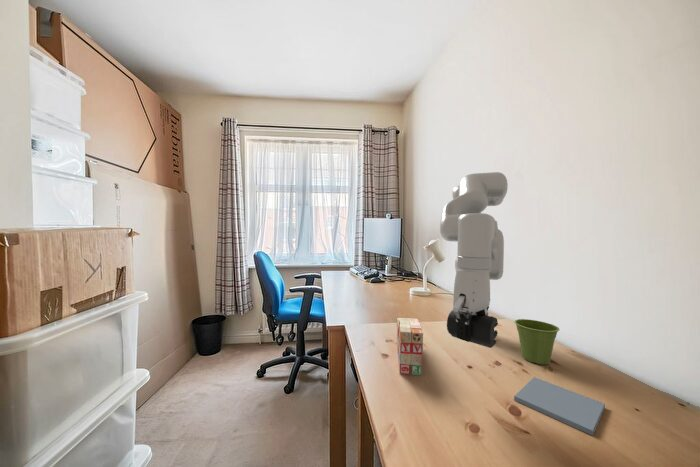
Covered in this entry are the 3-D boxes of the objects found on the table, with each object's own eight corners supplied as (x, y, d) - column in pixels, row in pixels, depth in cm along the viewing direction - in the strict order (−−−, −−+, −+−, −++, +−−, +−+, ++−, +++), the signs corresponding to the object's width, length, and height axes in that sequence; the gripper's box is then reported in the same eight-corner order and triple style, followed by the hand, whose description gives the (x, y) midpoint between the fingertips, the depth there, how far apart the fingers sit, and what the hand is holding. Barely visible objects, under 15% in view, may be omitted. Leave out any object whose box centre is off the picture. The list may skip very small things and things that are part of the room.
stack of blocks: (396, 343, 95) (397, 309, 95) (414, 344, 94) (414, 310, 94) (399, 374, 74) (400, 330, 74) (422, 376, 73) (423, 332, 73)
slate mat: (534, 380, 72) (534, 377, 72) (604, 407, 61) (604, 403, 61) (514, 400, 63) (514, 395, 63) (592, 435, 52) (592, 430, 52)
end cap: (446, 339, 66) (446, 312, 66) (457, 331, 71) (458, 306, 71) (489, 353, 59) (489, 322, 58) (499, 343, 64) (499, 315, 64)
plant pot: (565, 363, 82) (566, 327, 82) (548, 372, 76) (548, 334, 76) (524, 348, 93) (525, 316, 93) (506, 356, 86) (506, 321, 86)
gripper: (475, 260, 73) (474, 323, 73) (440, 264, 62) (438, 339, 62) (504, 263, 67) (503, 332, 67) (471, 268, 56) (469, 351, 56)
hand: (472, 335), depth 65 cm, fingers closed on end cap, 7 cm apart
